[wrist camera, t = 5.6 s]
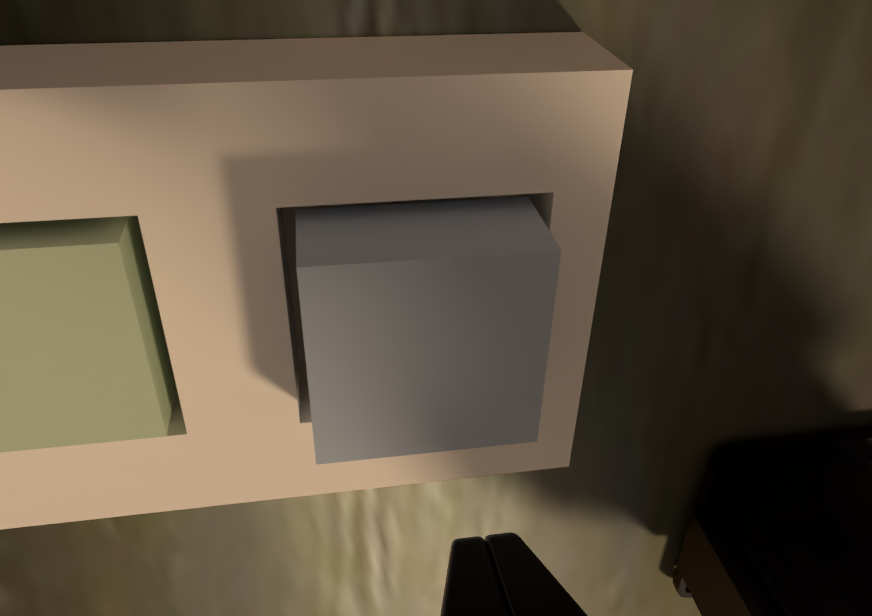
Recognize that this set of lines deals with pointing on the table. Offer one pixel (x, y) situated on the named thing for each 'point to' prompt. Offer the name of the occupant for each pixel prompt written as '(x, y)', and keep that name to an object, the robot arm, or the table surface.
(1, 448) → the green button
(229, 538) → the table surface
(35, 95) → the button panel
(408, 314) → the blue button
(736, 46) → the table surface
